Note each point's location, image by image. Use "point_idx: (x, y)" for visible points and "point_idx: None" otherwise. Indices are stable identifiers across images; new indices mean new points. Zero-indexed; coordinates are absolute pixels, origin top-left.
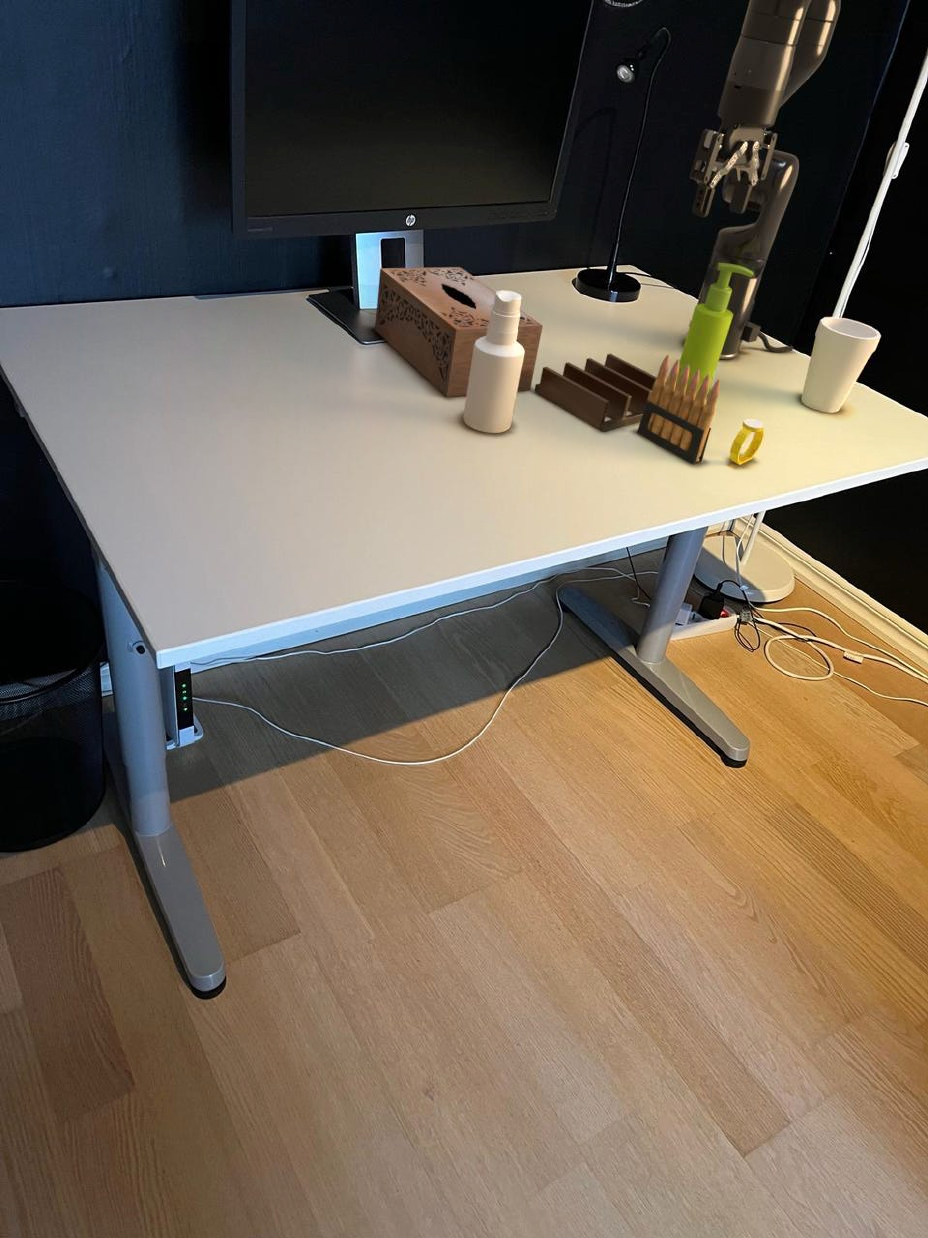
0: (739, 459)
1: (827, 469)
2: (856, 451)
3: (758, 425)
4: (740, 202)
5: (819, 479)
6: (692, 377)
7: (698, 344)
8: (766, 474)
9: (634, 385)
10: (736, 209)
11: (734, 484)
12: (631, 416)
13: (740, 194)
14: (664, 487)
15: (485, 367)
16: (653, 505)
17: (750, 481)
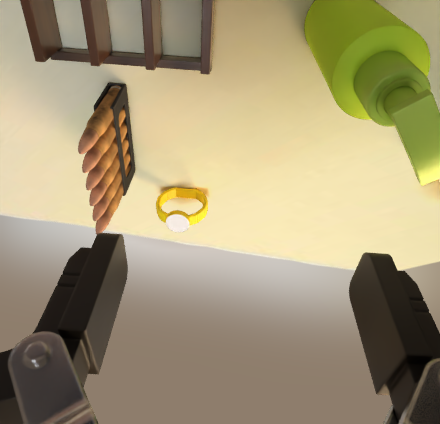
0: (180, 193)
1: (263, 241)
2: (341, 240)
3: (178, 228)
4: (361, 313)
5: (233, 245)
6: (90, 194)
7: (319, 61)
8: None
9: (143, 33)
10: (357, 281)
11: (132, 211)
12: (113, 62)
13: (375, 332)
14: (47, 180)
15: None
16: (11, 193)
17: (156, 216)
